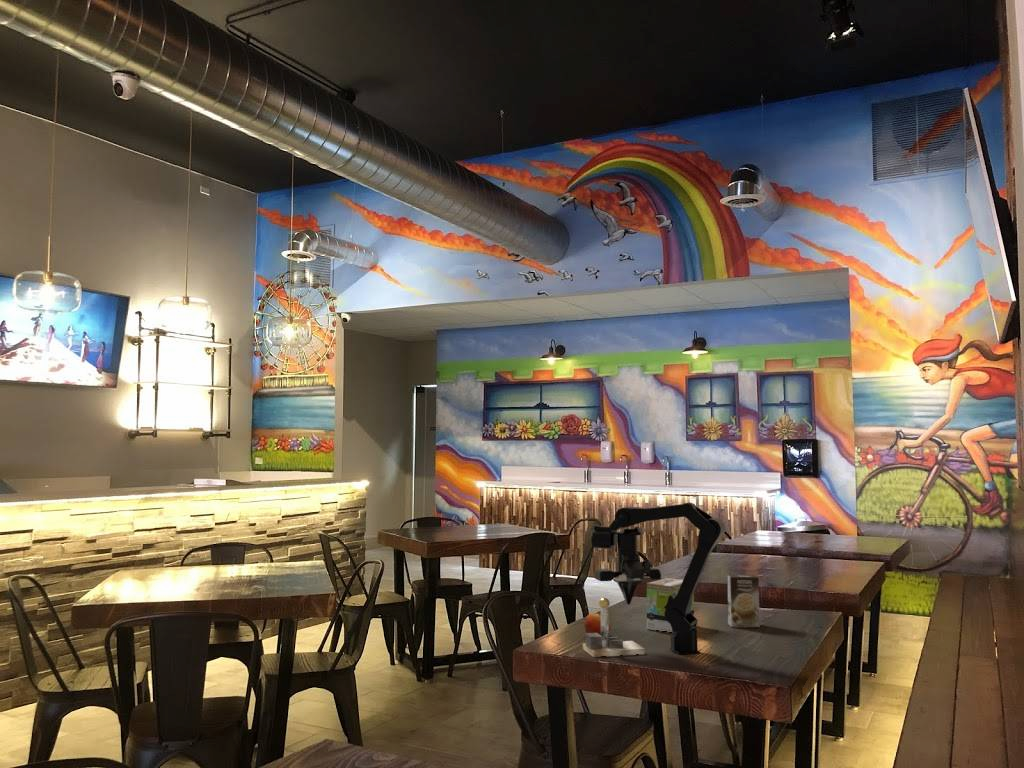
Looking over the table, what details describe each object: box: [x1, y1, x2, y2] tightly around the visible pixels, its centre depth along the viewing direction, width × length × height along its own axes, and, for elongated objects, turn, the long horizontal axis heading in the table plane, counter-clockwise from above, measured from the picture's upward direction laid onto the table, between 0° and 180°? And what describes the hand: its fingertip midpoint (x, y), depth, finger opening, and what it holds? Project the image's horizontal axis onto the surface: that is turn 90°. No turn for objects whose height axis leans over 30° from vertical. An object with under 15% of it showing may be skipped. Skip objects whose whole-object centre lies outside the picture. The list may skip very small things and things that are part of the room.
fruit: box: [584, 612, 612, 635], centre depth 251 cm, size 8×8×8 cm
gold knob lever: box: [598, 597, 611, 647], centre depth 232 cm, size 6×3×13 cm, turn 102°
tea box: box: [646, 577, 695, 633], centre depth 264 cm, size 15×10×15 cm, turn 143°
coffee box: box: [727, 573, 760, 628], centre depth 266 cm, size 9×6×16 cm
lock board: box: [582, 632, 646, 658], centre depth 232 cm, size 15×10×5 cm, turn 102°
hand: (628, 604), depth 239 cm, fingers closed
